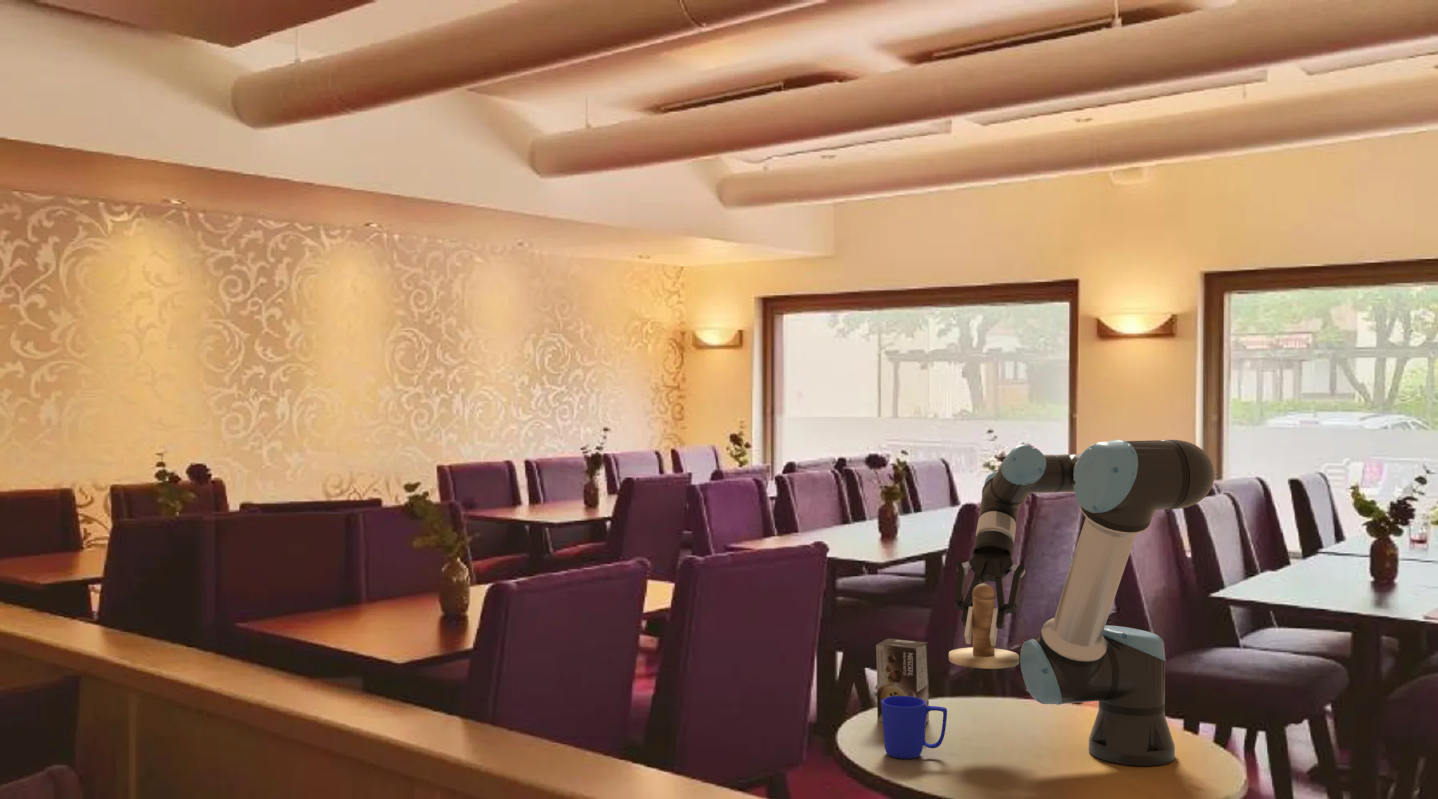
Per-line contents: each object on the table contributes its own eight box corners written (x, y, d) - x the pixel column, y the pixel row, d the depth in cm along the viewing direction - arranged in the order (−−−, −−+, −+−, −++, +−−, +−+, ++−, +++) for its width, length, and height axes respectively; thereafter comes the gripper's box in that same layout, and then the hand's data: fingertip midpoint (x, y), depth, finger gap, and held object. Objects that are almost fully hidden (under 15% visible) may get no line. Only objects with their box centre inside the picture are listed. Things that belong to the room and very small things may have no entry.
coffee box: (930, 720, 250) (929, 642, 250) (917, 728, 245) (917, 647, 245) (889, 714, 255) (888, 637, 255) (875, 721, 250) (875, 642, 250)
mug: (946, 764, 222) (946, 709, 222) (879, 760, 225) (879, 706, 224) (947, 750, 230) (947, 697, 230) (882, 747, 233) (882, 694, 233)
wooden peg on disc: (1024, 657, 235) (1024, 580, 235) (1012, 671, 223) (1012, 590, 223) (957, 651, 240) (957, 576, 240) (941, 664, 228) (941, 586, 228)
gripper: (1040, 553, 242) (1028, 655, 227) (954, 549, 249) (937, 648, 234) (1036, 530, 237) (1024, 632, 222) (948, 526, 244) (931, 626, 229)
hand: (979, 640), depth 228 cm, fingers closed on wooden peg on disc, 4 cm apart
